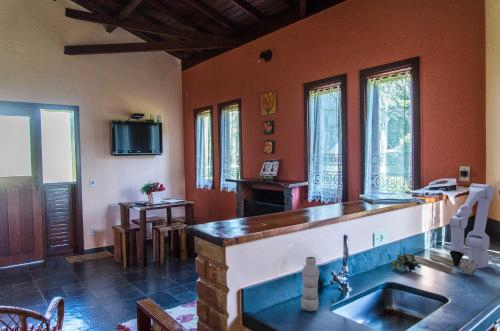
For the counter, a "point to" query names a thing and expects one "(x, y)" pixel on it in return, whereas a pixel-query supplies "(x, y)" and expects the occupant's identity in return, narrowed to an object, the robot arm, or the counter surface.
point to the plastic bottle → (310, 285)
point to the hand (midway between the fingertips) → (456, 266)
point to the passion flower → (405, 262)
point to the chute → (435, 264)
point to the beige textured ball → (468, 266)
